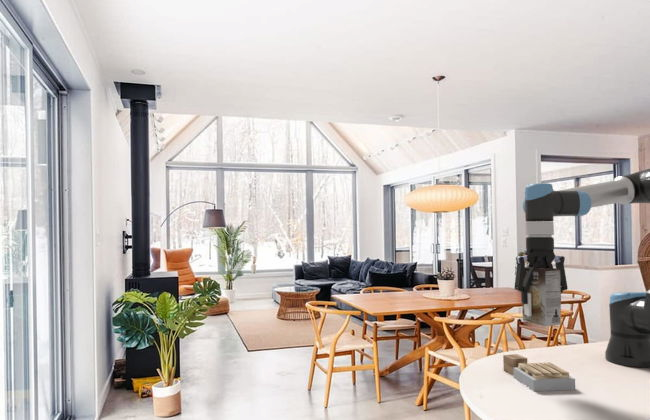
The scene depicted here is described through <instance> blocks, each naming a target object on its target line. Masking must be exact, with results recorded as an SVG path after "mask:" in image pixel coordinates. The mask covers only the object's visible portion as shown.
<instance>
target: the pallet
mask: <svg viewBox="0 0 650 420" xmlns="http://www.w3.org/2000/svg"><path fill="white" fill-rule="evenodd" d="M518 369H520V370H525V373H526V374H532V377H533V378H534V379H548V378H570V372H569V371H567V370H565V369H564V368H561V367H559V366H558V365H556V364H553V363H552V362H527V364H525V363H518Z"/></svg>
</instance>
